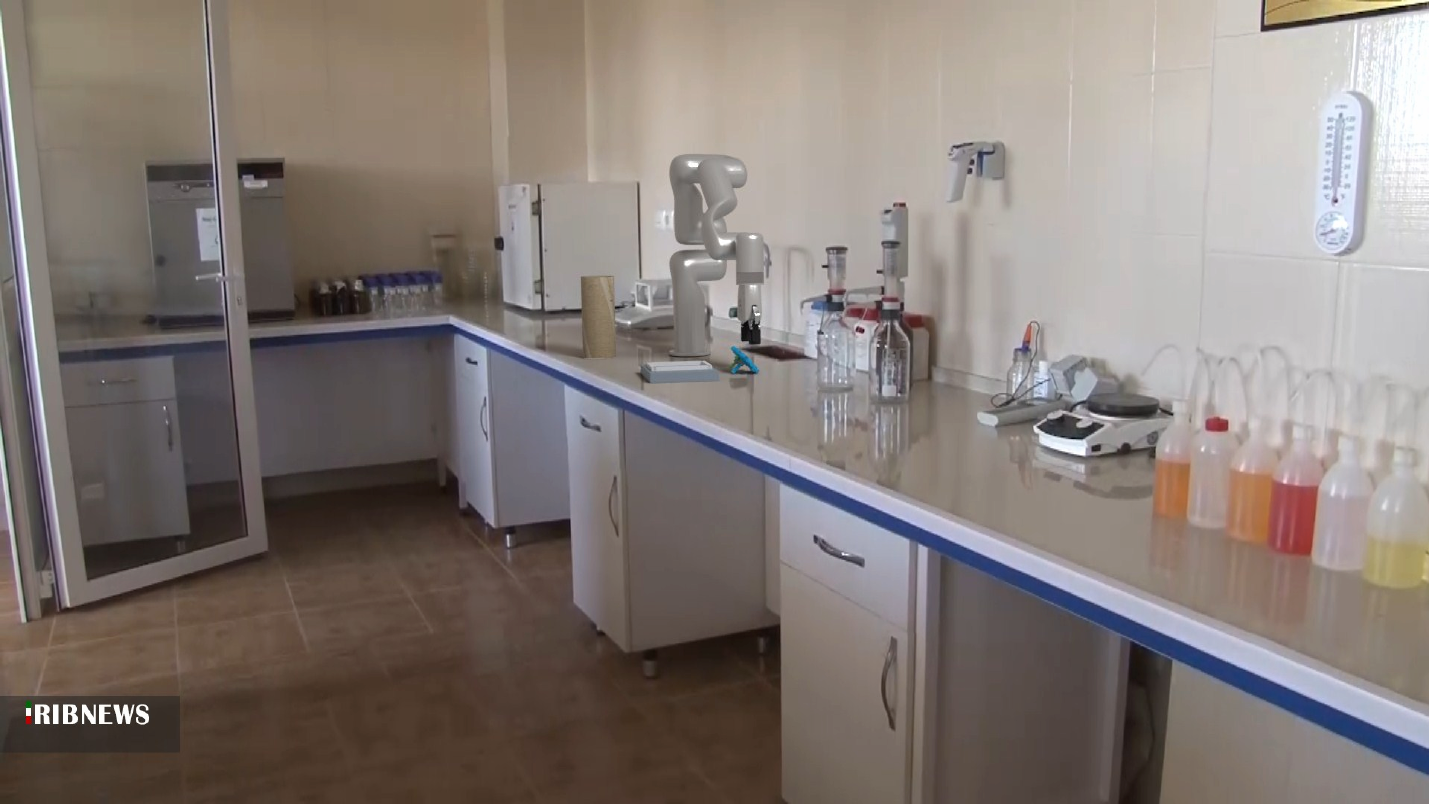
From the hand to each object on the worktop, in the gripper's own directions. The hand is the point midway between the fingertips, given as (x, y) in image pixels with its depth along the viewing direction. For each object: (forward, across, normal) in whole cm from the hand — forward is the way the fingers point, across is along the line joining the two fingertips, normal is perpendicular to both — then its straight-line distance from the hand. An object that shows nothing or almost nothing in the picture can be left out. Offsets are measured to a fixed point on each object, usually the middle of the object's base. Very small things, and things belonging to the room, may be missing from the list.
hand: (750, 342), depth 311 cm
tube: (+8, -46, -37) cm, 59 cm away
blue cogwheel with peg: (+10, 0, 0) cm, 10 cm away
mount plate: (+8, +2, -20) cm, 22 cm away
